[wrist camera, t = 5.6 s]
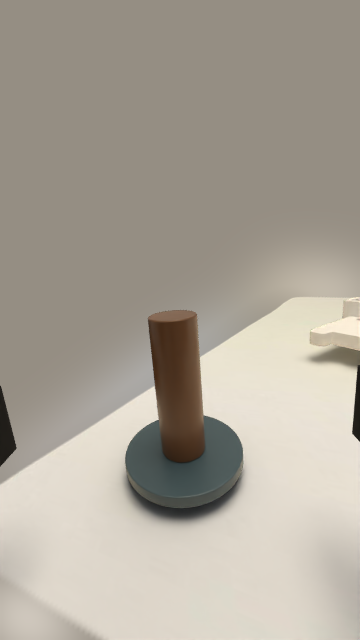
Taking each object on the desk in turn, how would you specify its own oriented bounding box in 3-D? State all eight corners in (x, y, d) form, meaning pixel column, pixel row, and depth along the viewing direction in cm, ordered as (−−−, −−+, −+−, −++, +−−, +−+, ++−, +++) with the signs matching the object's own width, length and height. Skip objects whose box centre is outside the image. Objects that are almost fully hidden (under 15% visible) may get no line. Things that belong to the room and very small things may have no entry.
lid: (230, 538, 11) (222, 337, 9) (103, 497, 13) (73, 331, 11) (250, 439, 17) (248, 302, 15) (159, 422, 19) (146, 303, 17)
